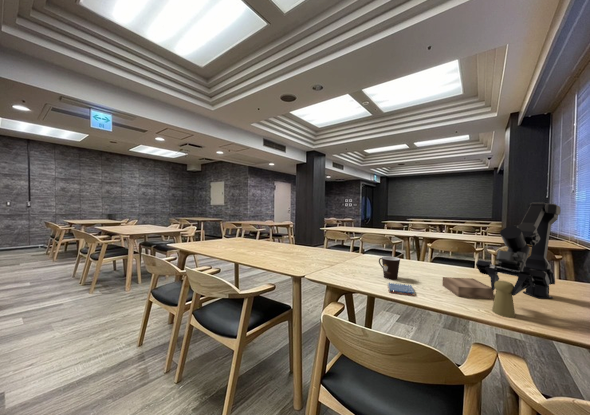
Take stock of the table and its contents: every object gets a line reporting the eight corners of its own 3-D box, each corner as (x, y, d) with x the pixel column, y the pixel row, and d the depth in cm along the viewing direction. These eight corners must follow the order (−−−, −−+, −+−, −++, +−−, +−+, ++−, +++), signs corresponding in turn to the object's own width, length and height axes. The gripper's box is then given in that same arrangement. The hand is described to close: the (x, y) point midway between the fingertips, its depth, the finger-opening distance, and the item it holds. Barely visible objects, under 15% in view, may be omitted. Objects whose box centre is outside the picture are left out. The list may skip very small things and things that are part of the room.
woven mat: (412, 289, 105) (412, 284, 105) (415, 297, 95) (416, 292, 95) (387, 286, 108) (387, 281, 108) (388, 294, 98) (388, 289, 98)
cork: (520, 318, 77) (521, 285, 77) (499, 316, 78) (499, 283, 78) (507, 310, 83) (508, 279, 83) (488, 308, 84) (488, 278, 84)
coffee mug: (402, 280, 115) (403, 260, 115) (385, 280, 115) (385, 260, 115) (393, 273, 126) (393, 255, 126) (377, 273, 126) (377, 255, 126)
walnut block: (473, 287, 106) (473, 278, 106) (493, 298, 94) (493, 288, 94) (442, 285, 108) (442, 277, 108) (458, 296, 95) (458, 286, 95)
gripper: (478, 238, 91) (463, 270, 85) (547, 246, 74) (534, 286, 69) (487, 256, 95) (473, 288, 89) (554, 268, 78) (542, 307, 73)
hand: (502, 292), depth 80 cm, fingers closed on cork, 5 cm apart
